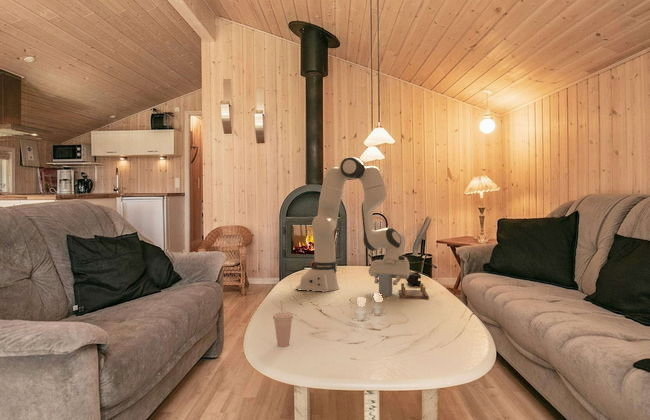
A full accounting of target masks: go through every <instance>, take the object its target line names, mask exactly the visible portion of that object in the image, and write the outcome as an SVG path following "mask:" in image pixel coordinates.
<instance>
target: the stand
mask: <svg viewBox="0 0 650 420" xmlns="http://www.w3.org/2000/svg"><path fill="white" fill-rule="evenodd" d="M400 287H401V288H400V289H398V296H399V299H422V300H423V299H424V300H427V299H429V297H430V296H429V295H428V292H427V290H426V287H424V283H422V282H421V284H420V287H419V289H406V286H405V283H404V282H401V284H400Z"/></svg>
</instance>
